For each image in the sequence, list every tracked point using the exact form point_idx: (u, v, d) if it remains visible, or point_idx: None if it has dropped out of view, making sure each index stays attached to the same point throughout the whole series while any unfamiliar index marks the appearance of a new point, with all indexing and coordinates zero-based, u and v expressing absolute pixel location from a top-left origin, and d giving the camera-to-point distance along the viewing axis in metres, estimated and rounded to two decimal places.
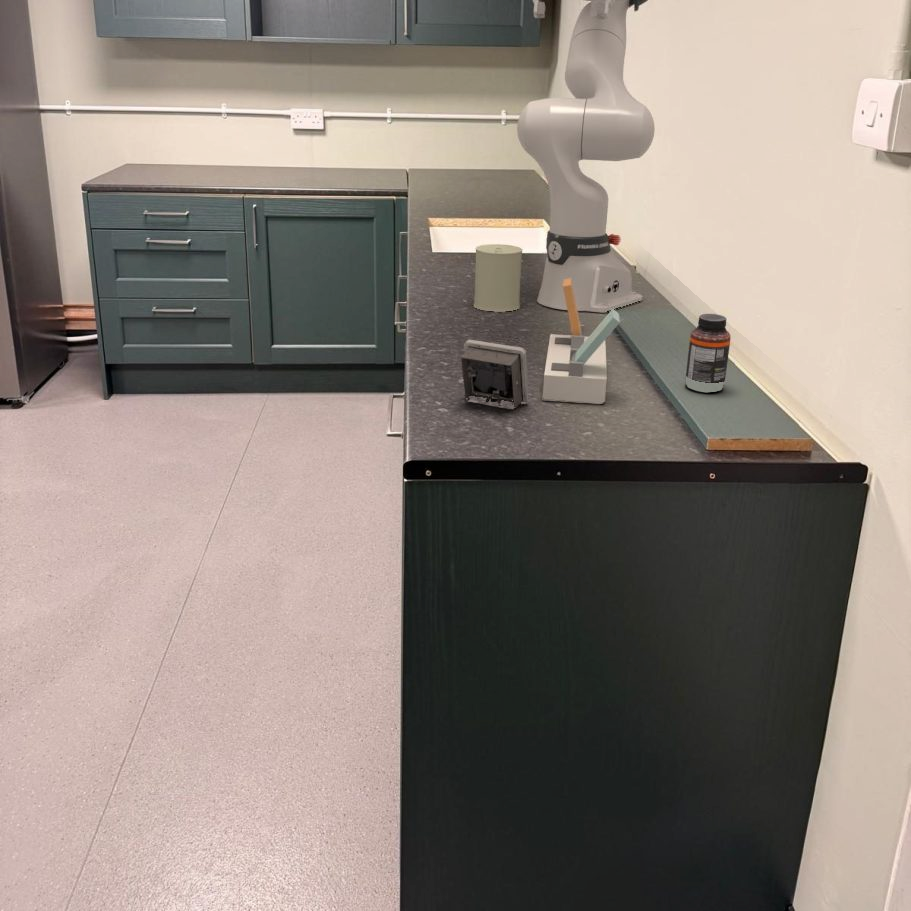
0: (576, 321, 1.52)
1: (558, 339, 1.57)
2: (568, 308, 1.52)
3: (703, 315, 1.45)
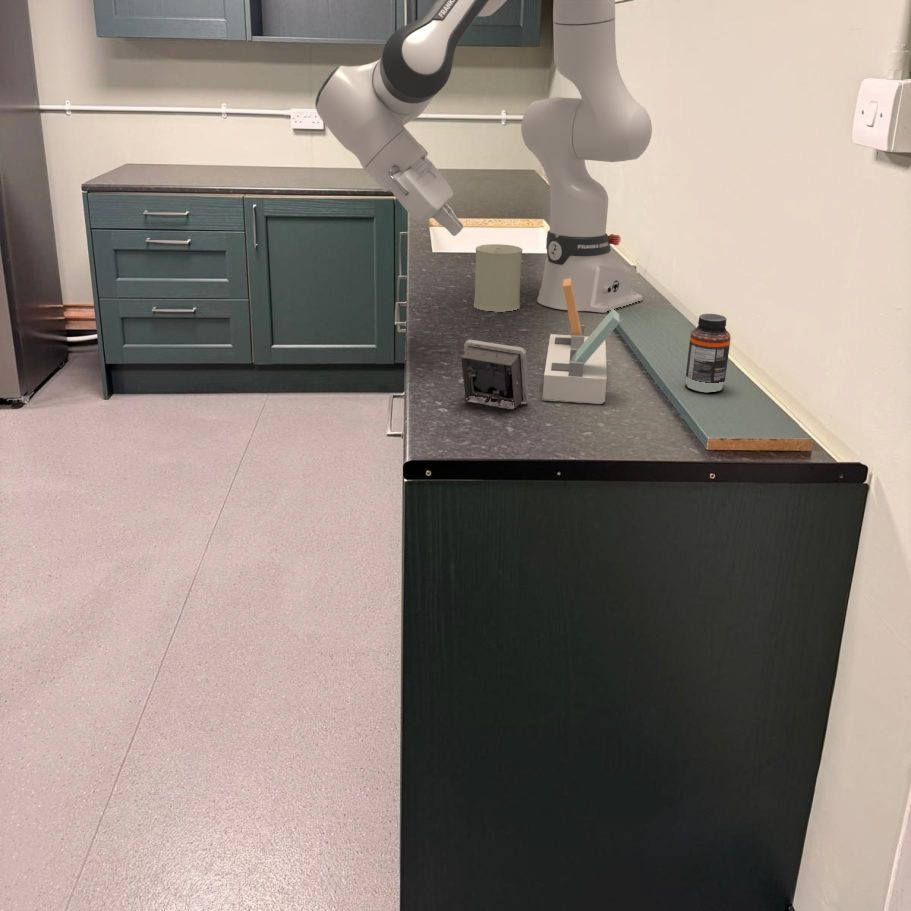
0: (576, 321, 1.52)
1: (558, 339, 1.57)
2: (568, 308, 1.52)
3: (703, 315, 1.45)
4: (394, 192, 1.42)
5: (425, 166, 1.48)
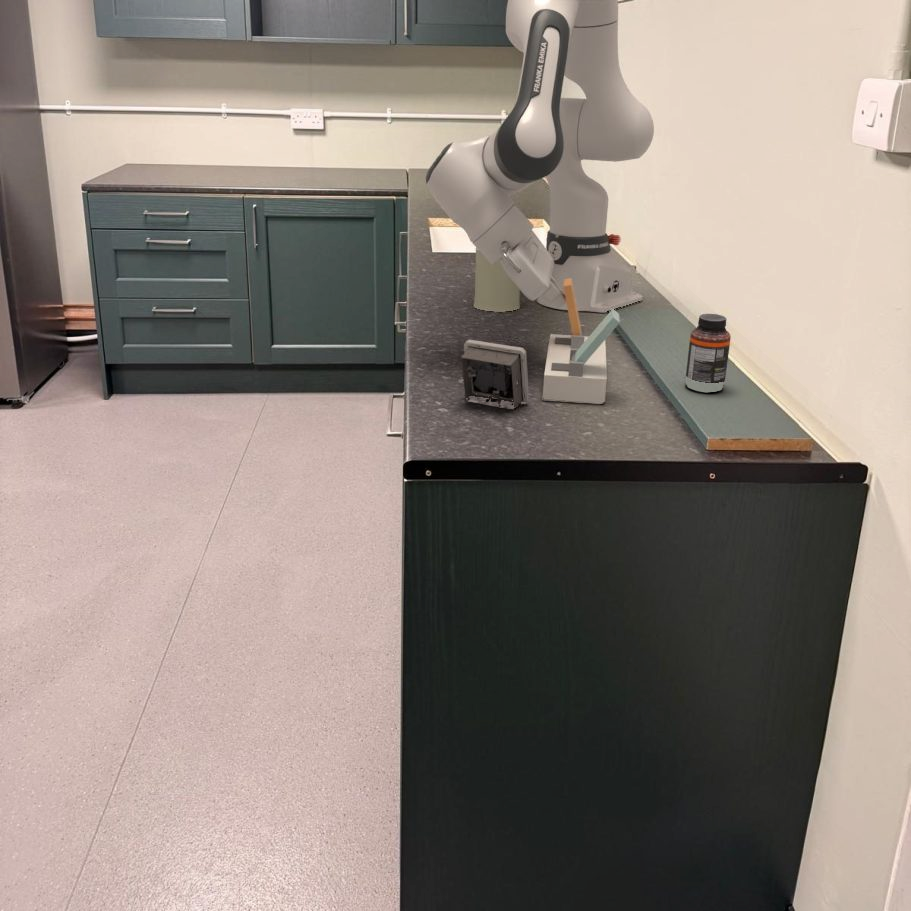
0: (576, 321, 1.52)
1: (558, 339, 1.57)
2: (568, 308, 1.52)
3: (703, 315, 1.45)
4: (506, 269, 1.44)
5: (533, 240, 1.50)
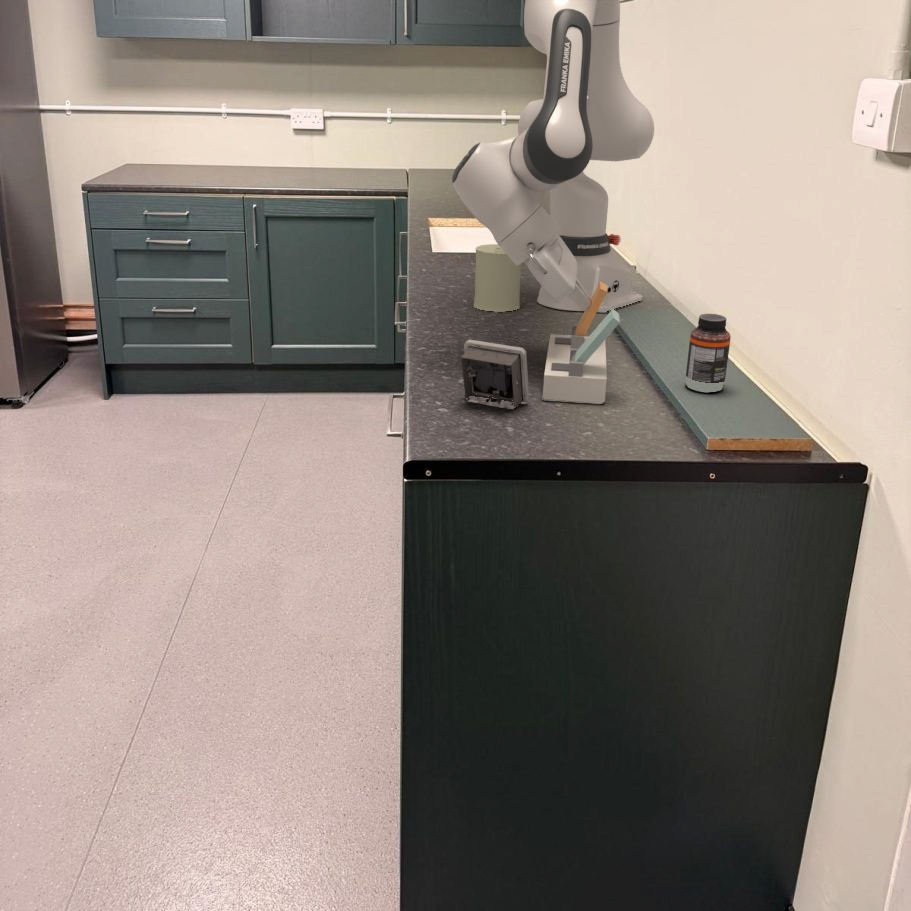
0: (588, 324, 1.52)
1: (558, 339, 1.57)
2: (590, 309, 1.51)
3: (703, 315, 1.45)
4: (532, 270, 1.43)
5: (558, 242, 1.50)
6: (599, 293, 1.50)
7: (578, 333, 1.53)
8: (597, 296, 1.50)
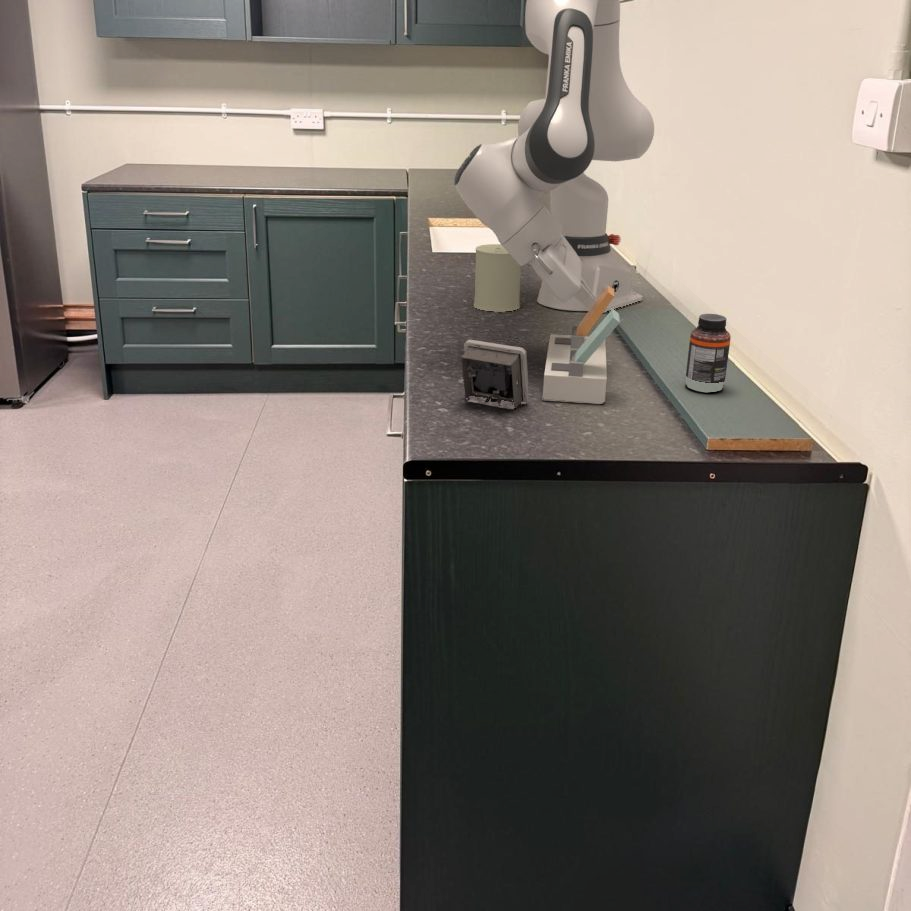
0: (591, 326, 1.52)
1: (558, 339, 1.57)
2: (595, 311, 1.51)
3: (703, 315, 1.45)
4: (537, 271, 1.43)
5: (562, 242, 1.49)
6: (606, 297, 1.50)
7: (579, 333, 1.53)
8: (604, 299, 1.50)
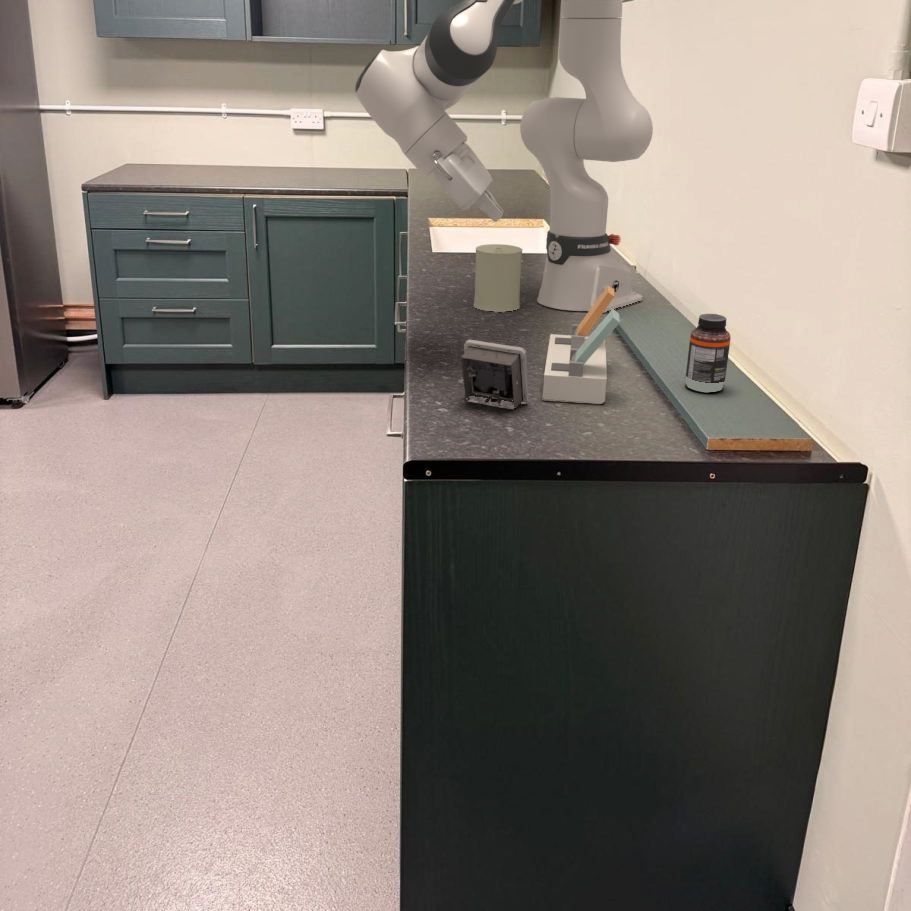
0: (591, 326, 1.52)
1: (558, 339, 1.57)
2: (595, 311, 1.51)
3: (703, 315, 1.45)
4: (437, 177, 1.40)
5: (466, 151, 1.46)
6: (606, 297, 1.50)
7: (579, 333, 1.53)
8: (604, 299, 1.50)
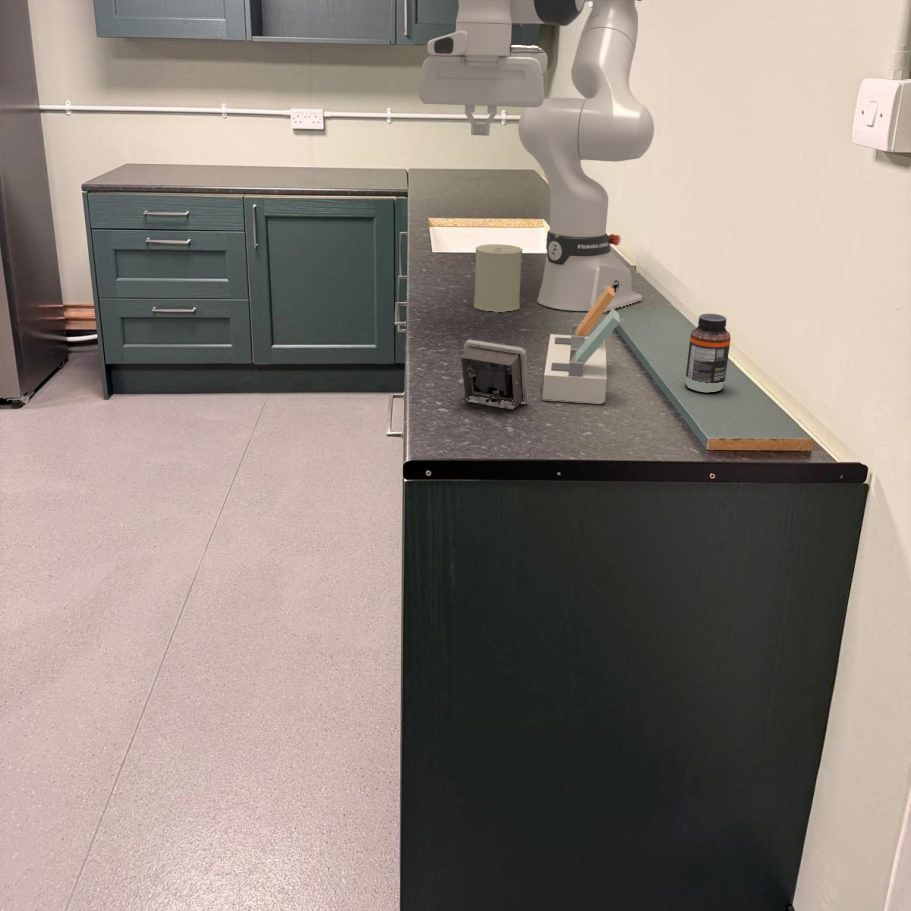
0: (591, 326, 1.52)
1: (558, 339, 1.57)
2: (595, 311, 1.51)
3: (703, 315, 1.45)
4: (540, 65, 1.53)
5: None
6: (606, 297, 1.50)
7: (579, 333, 1.53)
8: (604, 299, 1.50)
